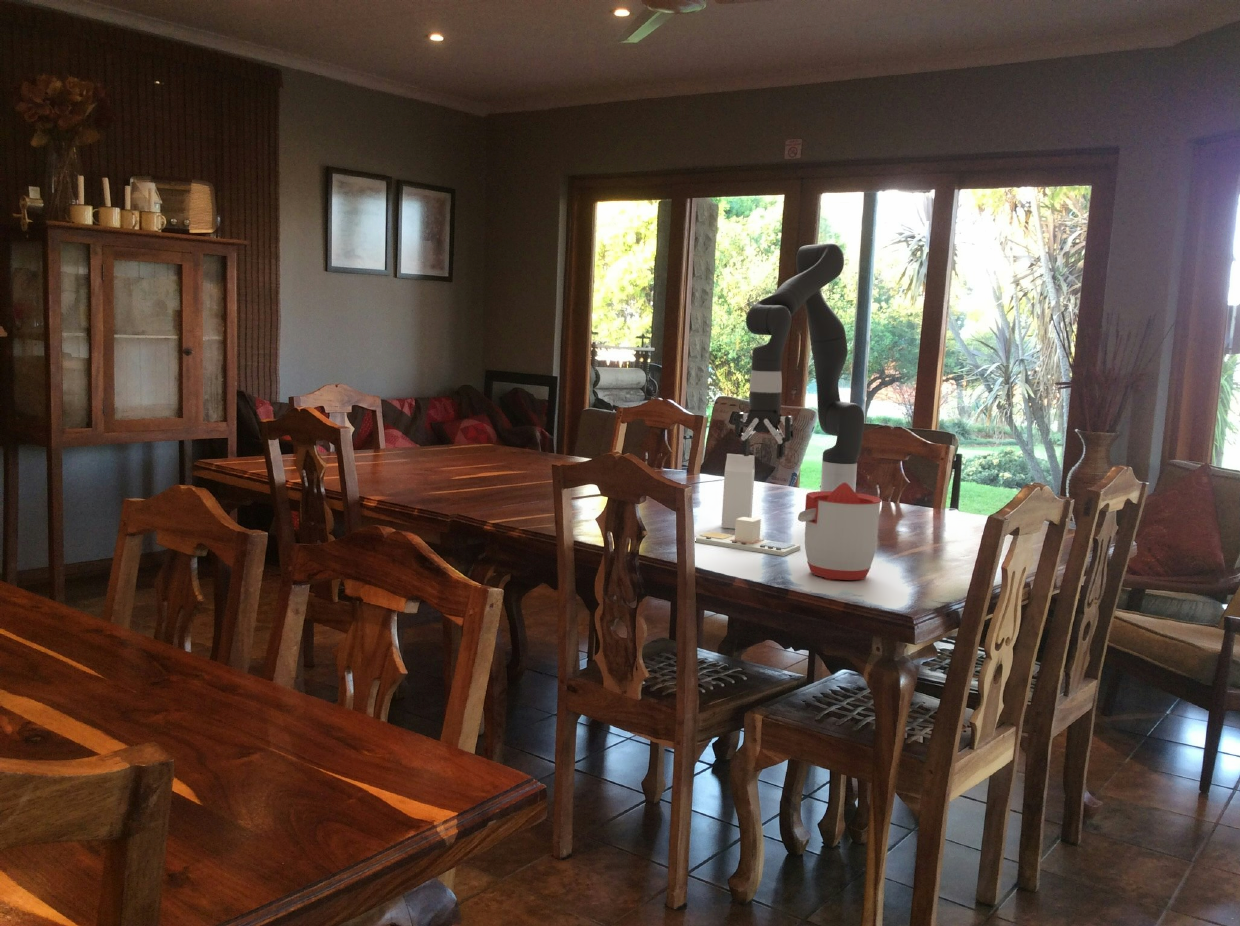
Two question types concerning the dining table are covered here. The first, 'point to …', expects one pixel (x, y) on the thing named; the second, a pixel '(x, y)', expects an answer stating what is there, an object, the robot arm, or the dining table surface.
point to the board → (747, 544)
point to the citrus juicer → (840, 532)
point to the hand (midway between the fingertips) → (762, 457)
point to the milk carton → (737, 489)
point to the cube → (747, 529)
